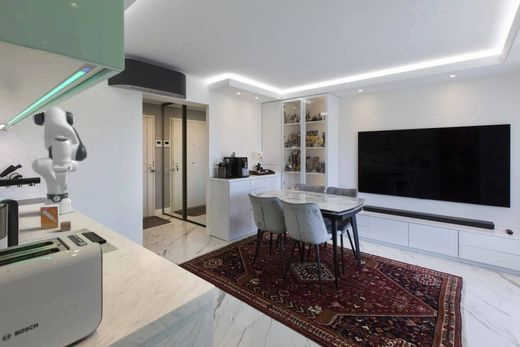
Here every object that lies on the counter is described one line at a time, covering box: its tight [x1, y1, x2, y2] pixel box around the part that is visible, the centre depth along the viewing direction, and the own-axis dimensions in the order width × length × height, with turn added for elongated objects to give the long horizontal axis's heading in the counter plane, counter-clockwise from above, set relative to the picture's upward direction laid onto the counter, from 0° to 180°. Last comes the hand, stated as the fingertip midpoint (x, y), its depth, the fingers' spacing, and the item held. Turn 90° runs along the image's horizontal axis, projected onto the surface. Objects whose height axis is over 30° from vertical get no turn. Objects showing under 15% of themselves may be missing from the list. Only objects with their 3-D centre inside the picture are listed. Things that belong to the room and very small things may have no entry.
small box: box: [39, 204, 60, 230], centre depth 153 cm, size 8×6×13 cm
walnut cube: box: [59, 220, 72, 233], centre depth 149 cm, size 4×4×4 cm
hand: (63, 191), depth 147 cm, fingers open, 8 cm apart
